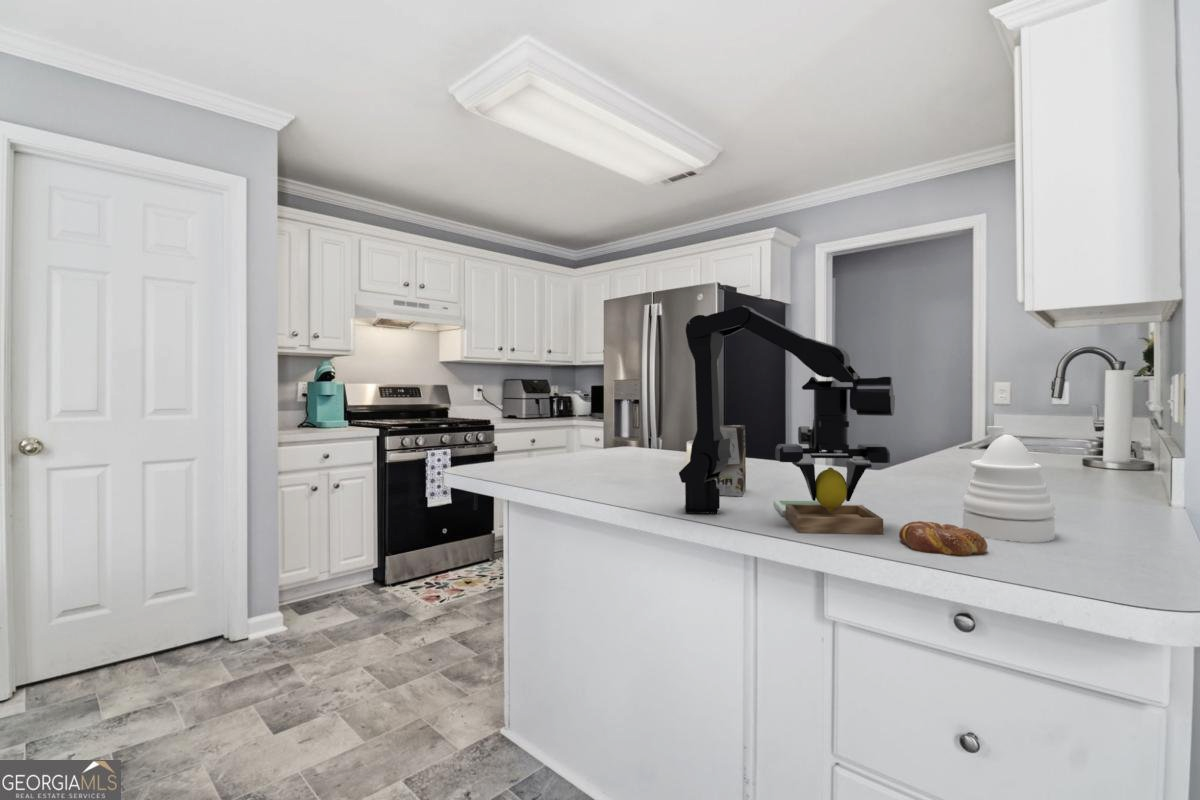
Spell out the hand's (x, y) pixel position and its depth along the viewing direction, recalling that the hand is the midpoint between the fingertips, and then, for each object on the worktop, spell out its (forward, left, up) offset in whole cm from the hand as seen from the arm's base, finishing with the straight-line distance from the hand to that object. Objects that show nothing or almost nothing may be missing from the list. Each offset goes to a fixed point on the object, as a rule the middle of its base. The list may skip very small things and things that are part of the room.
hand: (830, 500), depth 107 cm
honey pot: (+28, -3, -5) cm, 29 cm away
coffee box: (-15, +32, -5) cm, 36 cm away
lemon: (0, 0, -2) cm, 2 cm away
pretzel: (+14, -13, -5) cm, 19 cm away
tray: (0, 0, -5) cm, 5 cm away
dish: (-2, +12, -5) cm, 13 cm away
